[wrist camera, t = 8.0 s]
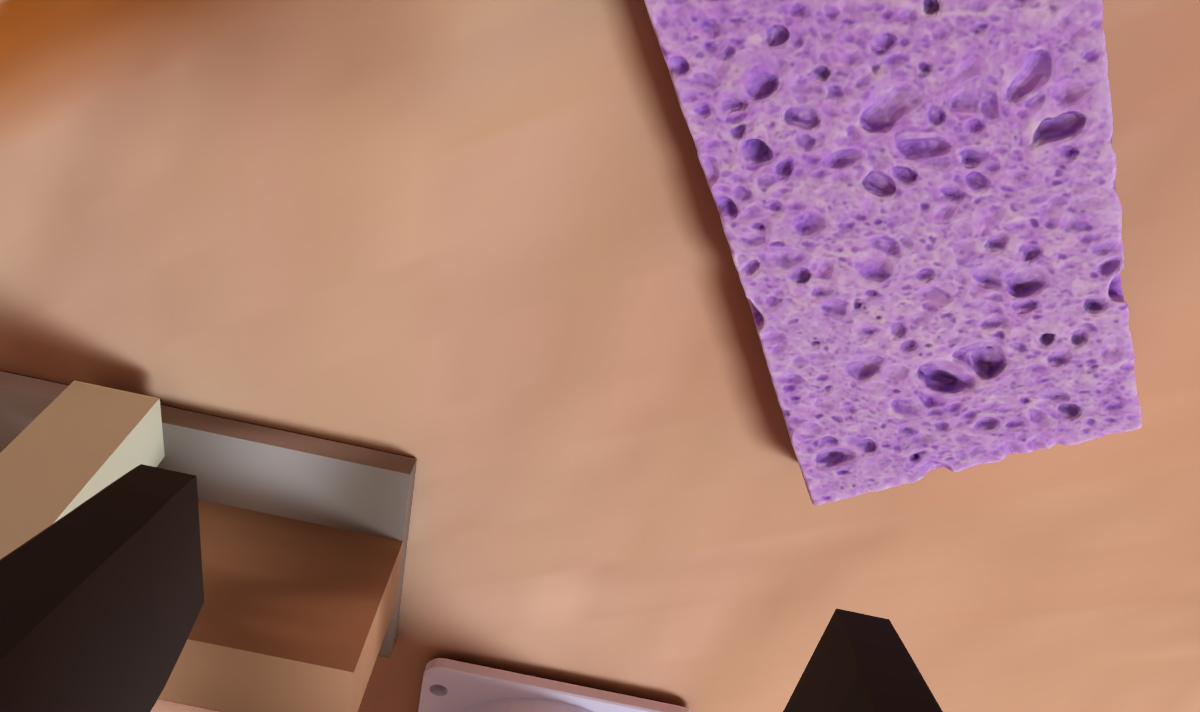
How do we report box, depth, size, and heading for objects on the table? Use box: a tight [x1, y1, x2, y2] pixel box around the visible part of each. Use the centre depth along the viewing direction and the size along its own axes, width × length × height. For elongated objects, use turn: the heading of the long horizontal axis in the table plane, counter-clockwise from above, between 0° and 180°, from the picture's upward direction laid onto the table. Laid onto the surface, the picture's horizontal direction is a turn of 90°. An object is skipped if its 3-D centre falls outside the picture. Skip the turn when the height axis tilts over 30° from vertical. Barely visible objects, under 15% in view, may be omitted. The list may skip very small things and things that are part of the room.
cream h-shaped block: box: [0, 380, 165, 559], centre depth 20 cm, size 8×2×7 cm, turn 169°
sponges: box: [644, 0, 1142, 506], centre depth 17 cm, size 7×13×2 cm, turn 21°
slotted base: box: [0, 371, 417, 712], centre depth 22 cm, size 14×7×5 cm, turn 79°
